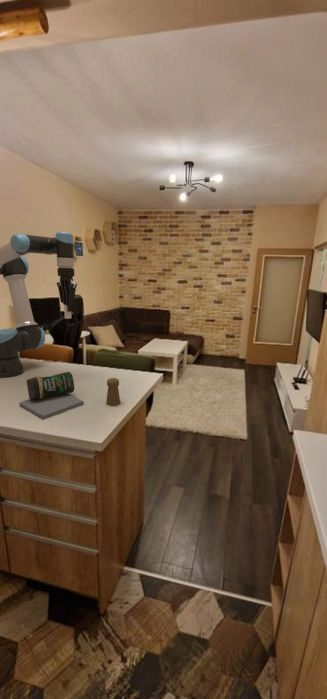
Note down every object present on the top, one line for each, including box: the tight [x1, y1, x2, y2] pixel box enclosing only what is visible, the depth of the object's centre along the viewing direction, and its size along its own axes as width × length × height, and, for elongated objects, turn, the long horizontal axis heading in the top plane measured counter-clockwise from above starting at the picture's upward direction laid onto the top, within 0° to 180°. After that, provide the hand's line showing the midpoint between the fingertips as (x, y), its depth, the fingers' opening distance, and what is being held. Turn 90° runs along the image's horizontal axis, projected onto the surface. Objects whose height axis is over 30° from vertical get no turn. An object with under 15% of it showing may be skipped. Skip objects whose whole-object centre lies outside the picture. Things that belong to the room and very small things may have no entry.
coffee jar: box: [26, 371, 75, 400], centre depth 133 cm, size 10×8×19 cm
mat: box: [18, 393, 85, 420], centre depth 128 cm, size 18×18×2 cm
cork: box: [105, 377, 121, 407], centre depth 131 cm, size 6×6×11 cm
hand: (68, 318), depth 148 cm, fingers closed
